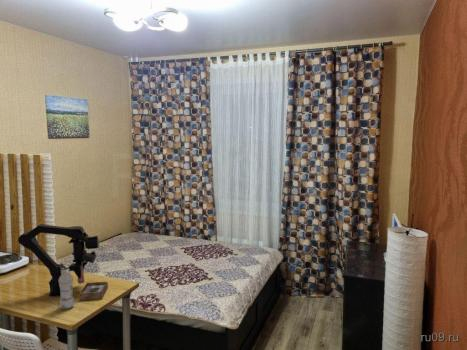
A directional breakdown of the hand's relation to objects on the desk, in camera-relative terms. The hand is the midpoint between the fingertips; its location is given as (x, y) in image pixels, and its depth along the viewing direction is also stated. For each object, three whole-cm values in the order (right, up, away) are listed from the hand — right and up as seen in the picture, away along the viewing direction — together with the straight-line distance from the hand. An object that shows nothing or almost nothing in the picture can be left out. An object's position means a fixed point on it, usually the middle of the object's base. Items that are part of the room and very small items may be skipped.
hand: (80, 277), depth 187 cm
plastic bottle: (+1, -10, -18) cm, 20 cm away
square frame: (+9, -8, -4) cm, 13 cm away
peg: (0, -3, 0) cm, 3 cm away
